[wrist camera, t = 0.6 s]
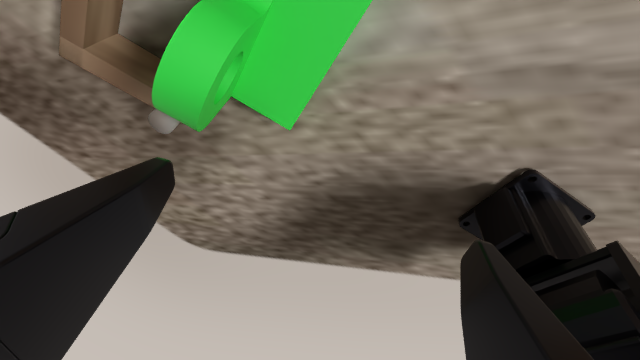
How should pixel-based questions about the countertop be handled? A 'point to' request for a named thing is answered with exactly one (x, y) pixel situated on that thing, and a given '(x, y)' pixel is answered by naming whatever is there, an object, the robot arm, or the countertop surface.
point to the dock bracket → (110, 52)
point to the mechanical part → (251, 57)
